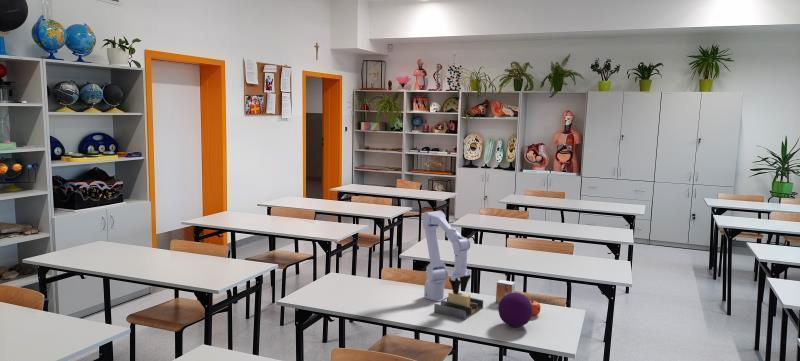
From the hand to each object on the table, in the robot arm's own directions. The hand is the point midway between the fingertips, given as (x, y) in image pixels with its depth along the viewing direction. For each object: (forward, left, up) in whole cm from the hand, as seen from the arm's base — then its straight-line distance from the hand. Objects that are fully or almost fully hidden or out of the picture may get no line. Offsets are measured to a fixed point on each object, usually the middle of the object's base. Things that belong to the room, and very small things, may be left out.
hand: (459, 291), depth 272 cm
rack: (0, 0, -9) cm, 9 cm away
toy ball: (+29, -2, -9) cm, 31 cm away
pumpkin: (+30, +16, -9) cm, 35 cm away
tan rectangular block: (0, 0, -8) cm, 8 cm away
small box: (+13, +24, -9) cm, 29 cm away
